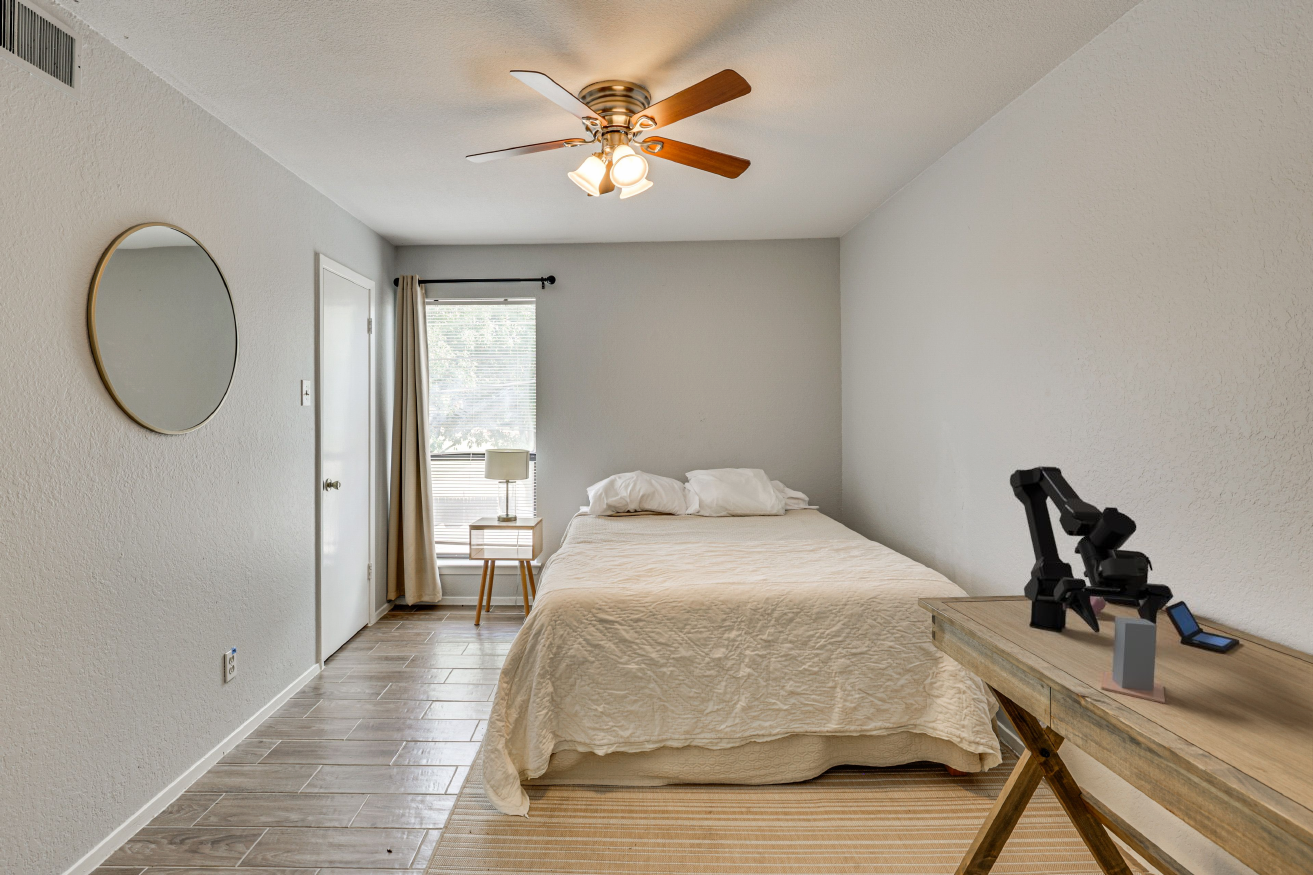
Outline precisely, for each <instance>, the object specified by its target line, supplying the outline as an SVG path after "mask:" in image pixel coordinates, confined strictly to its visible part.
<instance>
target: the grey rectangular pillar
mask: <svg viewBox="0 0 1313 875" xmlns="http://www.w3.org/2000/svg"><path fill="white" fill-rule="evenodd" d="M1157 628H1158V625H1157V624H1156V625H1155V624H1153V623H1152V622H1150V621H1148V620H1146V619H1141V618H1134V617H1124V616H1123V617H1121V616H1115V618H1114V637H1113V656H1112V657H1113V658H1112V659H1113V660H1112V673H1113V674H1112V680H1113V681H1114V682H1115V683H1116V684H1118V685H1119V686H1120V687H1121V688H1126V689H1137V690H1147V691H1153V689H1154V682H1155V669H1156V668H1155V667H1156V648H1157Z"/></svg>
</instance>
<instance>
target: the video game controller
mask: <svg viewBox="0 0 1313 875" xmlns="http://www.w3.org/2000/svg"><path fill="white" fill-rule="evenodd" d="M1090 602H1091V605H1092V608H1093V610H1094V613H1095V616H1096V615H1098V614H1099V613H1100V612H1101V611H1103V610H1104V609H1105V607H1106V605H1107V602H1106V601H1105V600H1104V599H1103V597H1092V596H1090ZM1065 607H1066V606H1064V608H1065ZM1066 608H1067V607H1066Z"/></svg>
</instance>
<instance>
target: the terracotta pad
mask: <svg viewBox="0 0 1313 875" xmlns="http://www.w3.org/2000/svg"><path fill="white" fill-rule="evenodd" d="M1112 674H1113V672H1109V671H1108V672H1107V671H1102V675H1101V676H1102V677H1101V690H1105V691H1108V692H1113V693H1116V694H1117V693H1118V694H1122V695H1126V696H1129V697H1130V696H1131V697H1135V698H1139V699H1143V700H1147V701H1152V702H1155V703H1161V704H1165V703H1166V699H1165V692H1164V686H1163V684H1162V683H1158V682H1155V681H1154V689H1153V691H1147V690H1137V689H1126V688H1121V687H1120V686H1119V685H1118V684H1116V683H1115V682H1114V681H1113V680H1112Z"/></svg>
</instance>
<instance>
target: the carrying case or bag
mask: <svg viewBox="0 0 1313 875" xmlns="http://www.w3.org/2000/svg"><path fill="white" fill-rule="evenodd" d="M1113 551H1114V554H1115V557H1116V558H1120V559H1130V558H1133V557H1144V558H1145V560H1146V562H1147V565H1148V568H1149V571H1151V572H1153V564H1152V561H1151V560H1150V557H1149V556H1147V555H1146V554H1145V553H1143V552H1142V551H1137V550H1136V551H1135V550H1128V549H1127V550H1125V549H1117V550H1113ZM1148 577H1149V572H1148V573H1147V574H1144V575H1139V577H1134V578H1131V579H1132V583H1131V585H1127V589H1134V590H1139V589H1140V588H1141V587H1142V585H1143V584H1144V583H1148ZM1102 599H1104V600H1105V602H1106V603H1108V604H1114V605H1121V606H1129V607H1138V606H1137V605H1136V603H1135V600H1129V599H1115V598H1103V597H1102ZM1138 608H1139V607H1138Z"/></svg>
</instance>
